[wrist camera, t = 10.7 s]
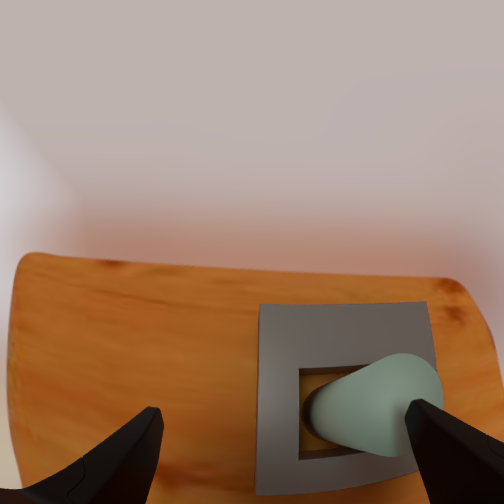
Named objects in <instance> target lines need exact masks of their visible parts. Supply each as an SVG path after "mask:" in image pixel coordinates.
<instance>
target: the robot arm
mask: <svg viewBox="0 0 504 504" xmlns="http://www.w3.org/2000/svg"><path fill="white" fill-rule="evenodd" d="M404 420H405V424H406V428H407V432H408V436H409V440H410V444H411V448H412V451H413V454H414V457H415V460H416V463H417V465H418V468H419V471H420V474H421V477H422V480H423V483H424V485H425V488H426V491H427V494H428V498H429V501H430V504H504V443H503V442H501V441H499V440H497V439H495V438H493V437H491V436H489V435H486V434H485V433H483V432H481V431H479V430H478V429H476V428H474V427H472V426H470V425H468V424H467V423H465V422H463V421H461V420H459V419H457V418H456V417H454V416H452V415H450V414H449V413H447V412H445V411H443V410H441V409H440V408H438V407H436V406H434V405H433V404H431V403H429V402H427V401H426V400H424V399H422V398H419V399H415V400H412V401H411V402H410V404H409V407H408V409H407V411H406V413H405V417H404ZM163 430H164V422H163V418H162V414H161V411H160V409H159V408H157V407H150V406H149V407H147V408H145V409H144V410H143V411H141V412H140V413H139V414H138V415H136V416H135V417H134V418H133V419H131V420H130V421H129V422H127V423H126V424H125V425H124V426H122V427H121V428H120V429H118V430H117V431H116V432H115V433H113V434H112V435H111V436H109V437H108V438H107V439H105V440H104V441H103V442H101V443H100V444H99V445H97V446H96V447H95V448H93V449H92V450H90V451H89V452H88V453H86V454H85V455H84V456H83V458H82V457H81V458H79V459H78V460H76V461H75V462H74V463H72V464H71V465H69V466H68V467H66V468H65V469H63V470H61V471H59V472H57V473H56V474H54V475H52V476H50V477H48V478H46V479H44V480H42V481H40V482H38V483H36V484H34V485H31V486H29V487H26V488H23V489H3V488H0V504H145V503H146V500H147V497H148V494H149V490H150V487H151V484H152V480H153V477H154V474H155V471H156V467H157V464H158V459H159V453H160V447H161V441H162V436H163Z"/></svg>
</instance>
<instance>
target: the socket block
mask: <svg viewBox="0 0 504 504" xmlns="http://www.w3.org/2000/svg"><path fill="white" fill-rule="evenodd" d="M399 353H407V354H412V355H416V356H418V357H420V358H422V359H424V360H425V361H427V362H428V363H429V364H430V365H431V366H432V367H433V368H434V370H435V371H436V373H437V367H436V358H435V350H434V343H433V337H432V330H431V324H430V319H429V313H428V308H427V303H426V301H423V302H404V303H379V304H338V305H279V304H260V308H259V317H258V356H257V404H256V446H255V493H256V496H279V495H297V494H309V493H319V492H327V491H334V490H341V489H347V488H353V487H358V486H363V485H368V484H373V483H377V482H381V481H385V480H389V479H393V478H397V477H400V476H404V475H407V474H410V473H414V472H417V471H419V468H418V465H417V463H416V460H415V457H414V454H413V452H410V453H408V454H405V455H402V456H396V457H387V456H381V455H377V454H373V453H369V452H365V451H361V450H357V449H354V448H350V447H344V448H336V449H327V450H317V451H304V452H299V375H316V374H334V373H348V372H356V371H358V370H360V369H362V368H364V367H366V366H368V365H370V364H373V363H375V362H377V361H379V360H381V359H383V358H385V357H387V356H390V355H393V354H399Z"/></svg>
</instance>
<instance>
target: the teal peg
mask: <svg viewBox="0 0 504 504" xmlns="http://www.w3.org/2000/svg"><path fill="white" fill-rule="evenodd" d="M419 398H422V399H424V400H426V401H427V402H429V403H431V404H433V405H434V406H436V407H438V408H440V409H441V410H443V403H444V396H443V388H442V384H441V381H440V379H439V376H438V374H437V373H436V371H435V370H434V368H433V367H432V366H431V365H430V364H429V363H428V362H427V361H425V360H424V359H422V358H420V357H418V356H416V355H412V354H407V353H399V354H393V355H390V356H387V357H385V358H383V359H381V360H379V361H377V362H375V363H373V364H370V365H368V366H366V367H364V368H362V369H360V370H358V371H356V372H353V373H351V374H349V375H347V376H344V377H342V378H340V379H337V380H335V381H333V382H330V383H328V384H326V385H323V386H321V387H318V388H317V389H315V390H314V391H312V392H311V393H310V394H309V395H308V397H307V398H306V400H305V401H304V404H303V407H302V421H303V424H304V426H305V428H306V429H307V430H308V432H309V433H311V434H312V435H314V436H315V437H317V438H320V439H323V440H326V441H330V442H333V443H336V444H339V445H343V446H346V447H350V448H354V449H357V450H361V451H365V452H369V453H373V454H377V455H381V456H387V457H396V456H402V455H405V454H408V453H410V452H413V451H412V448H411V444H410V440H409V436H408V432H407V428H406V424H405V420H404V417H405V413H406V411H407V409H408V407H409V404H410V402H411V401H412V400H415V399H419Z"/></svg>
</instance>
